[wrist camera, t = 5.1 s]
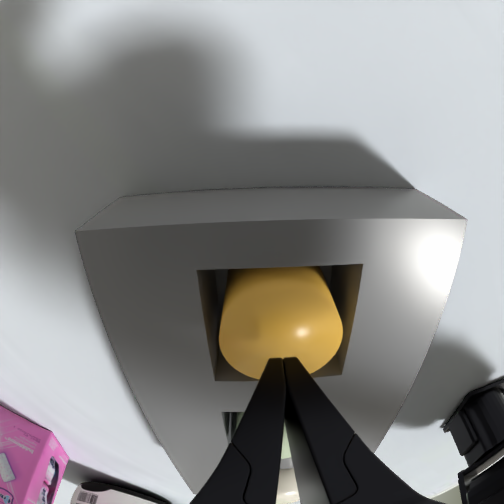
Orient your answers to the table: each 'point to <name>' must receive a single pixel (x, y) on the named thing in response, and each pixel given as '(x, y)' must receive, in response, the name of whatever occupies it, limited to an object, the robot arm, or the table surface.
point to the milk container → (108, 495)
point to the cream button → (287, 487)
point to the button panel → (267, 256)
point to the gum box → (28, 461)
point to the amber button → (278, 318)
